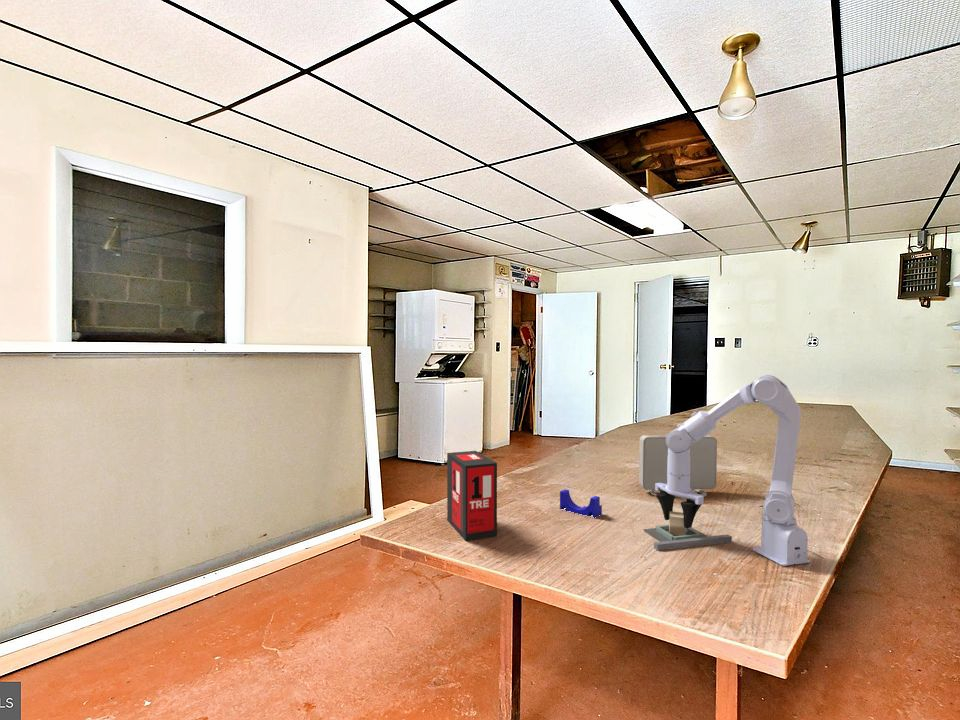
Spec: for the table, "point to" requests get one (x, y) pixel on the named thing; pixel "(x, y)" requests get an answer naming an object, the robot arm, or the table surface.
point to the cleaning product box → (472, 495)
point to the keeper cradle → (663, 535)
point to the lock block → (676, 523)
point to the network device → (656, 458)
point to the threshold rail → (692, 542)
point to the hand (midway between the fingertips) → (677, 523)
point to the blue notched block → (591, 509)
